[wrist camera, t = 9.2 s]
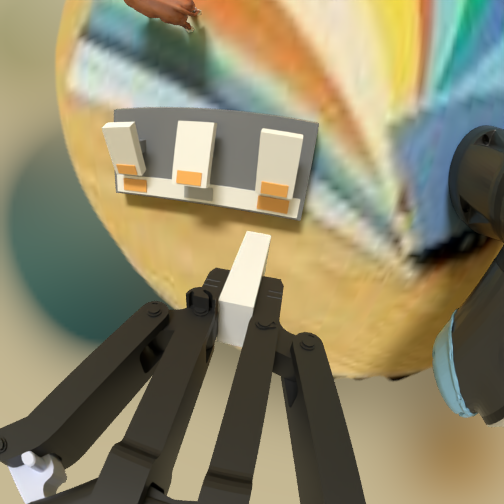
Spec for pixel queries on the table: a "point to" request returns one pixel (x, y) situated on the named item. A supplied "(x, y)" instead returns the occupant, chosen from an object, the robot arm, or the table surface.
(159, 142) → the switch panel
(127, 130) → the switch
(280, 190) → the switch
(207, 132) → the switch middle
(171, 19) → the bull figurine
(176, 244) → the table surface
